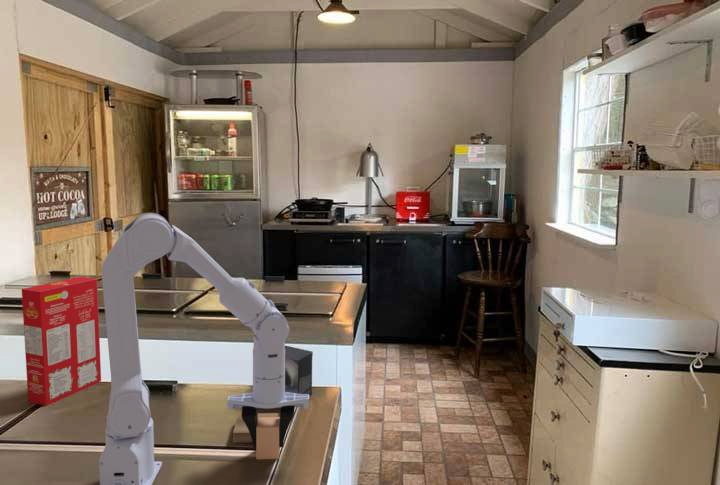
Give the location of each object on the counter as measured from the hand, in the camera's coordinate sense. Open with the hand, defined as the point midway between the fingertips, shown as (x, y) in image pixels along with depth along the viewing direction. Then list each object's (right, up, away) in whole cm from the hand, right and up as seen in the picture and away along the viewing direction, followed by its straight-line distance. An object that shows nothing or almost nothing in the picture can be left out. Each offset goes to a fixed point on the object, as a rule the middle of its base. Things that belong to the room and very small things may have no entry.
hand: (268, 444), depth 97 cm
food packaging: (-50, +3, +24) cm, 56 cm away
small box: (0, +2, +26) cm, 26 cm away
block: (0, -2, 0) cm, 2 cm away
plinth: (-4, 0, +8) cm, 9 cm away
